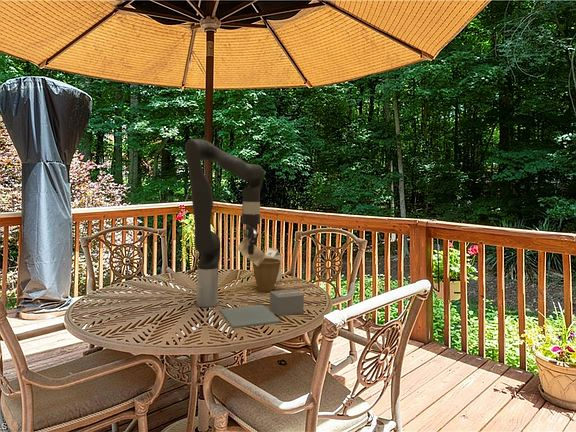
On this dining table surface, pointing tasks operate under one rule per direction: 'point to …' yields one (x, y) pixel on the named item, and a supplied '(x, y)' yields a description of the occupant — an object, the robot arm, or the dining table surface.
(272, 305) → the grey rectangular block
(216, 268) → the robot arm
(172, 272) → the dining table surface
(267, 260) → the plant pot
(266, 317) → the mat
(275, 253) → the milk carton
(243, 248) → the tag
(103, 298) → the dining table surface
